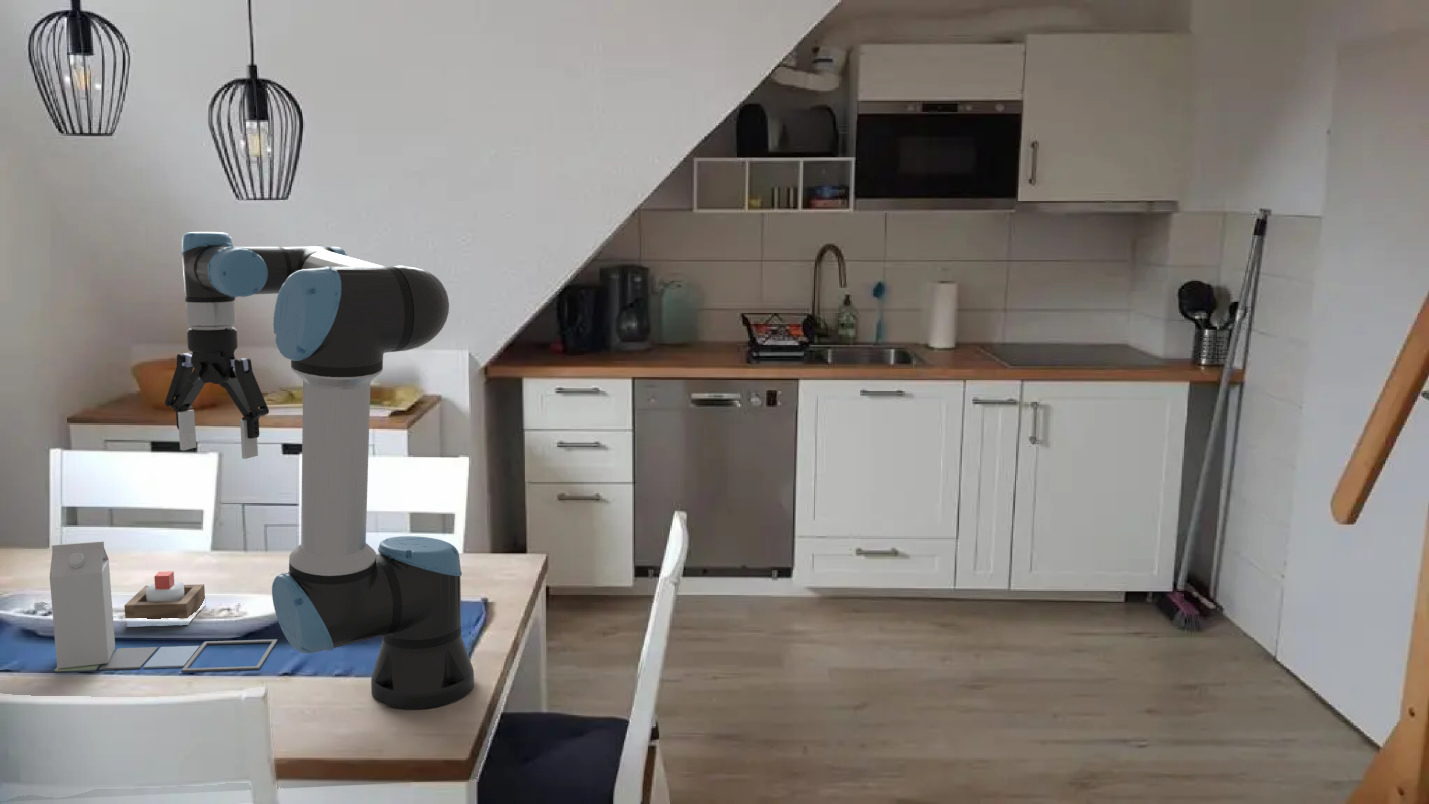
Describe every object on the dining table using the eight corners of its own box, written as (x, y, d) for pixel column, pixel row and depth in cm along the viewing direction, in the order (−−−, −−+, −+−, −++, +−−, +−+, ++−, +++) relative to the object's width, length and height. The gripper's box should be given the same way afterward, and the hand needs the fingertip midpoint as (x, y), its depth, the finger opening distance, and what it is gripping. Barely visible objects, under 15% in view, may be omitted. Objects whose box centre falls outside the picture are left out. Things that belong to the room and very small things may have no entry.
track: (259, 669, 175) (259, 667, 175) (49, 676, 171) (49, 674, 171) (277, 641, 187) (277, 639, 187) (81, 646, 182) (80, 645, 182)
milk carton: (65, 652, 179) (56, 538, 176) (115, 647, 182) (107, 535, 179) (57, 669, 173) (47, 552, 170) (108, 664, 175) (99, 548, 172)
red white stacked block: (178, 614, 194) (176, 578, 193) (142, 615, 193) (139, 579, 192) (189, 602, 200) (187, 567, 199) (154, 603, 199) (152, 568, 198)
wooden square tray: (187, 625, 192) (186, 603, 192) (125, 627, 191) (124, 605, 190) (205, 605, 202) (204, 584, 201) (146, 606, 201) (145, 585, 200)
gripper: (287, 329, 182) (293, 456, 186) (173, 320, 191) (181, 441, 195) (253, 333, 175) (259, 465, 179) (136, 324, 185) (145, 449, 188)
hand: (218, 453), depth 187 cm, fingers open, 13 cm apart
